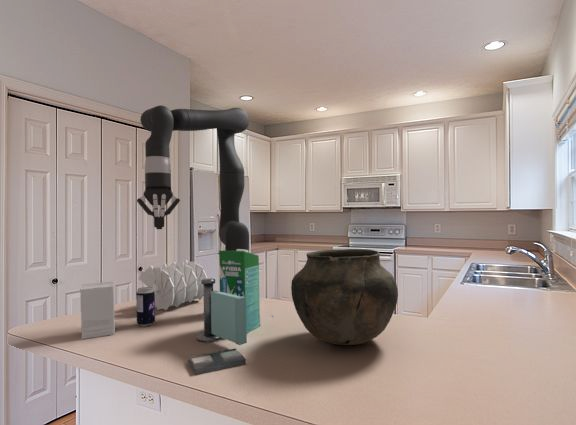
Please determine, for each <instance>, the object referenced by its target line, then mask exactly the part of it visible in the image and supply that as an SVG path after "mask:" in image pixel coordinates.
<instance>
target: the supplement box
mask: <svg viewBox="0 0 576 425" xmlns="http://www.w3.org/2000/svg"><path fill="white" fill-rule="evenodd" d="M114 288H115V287H114V283H113V281H108V282H97V283H96V282H95V283H84V284H82V285H81V288H80V290H79V291H80V320H81V321H80V322H81V324H80V326H81V328H80V329H81V340H86V339H93V338H99V337H105V336H111V335H115V331H116V330H115V329H116V328H115V322H116V321H115V291H114V290H115V289H114Z"/></svg>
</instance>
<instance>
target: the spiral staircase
mask: <svg viewBox="0 0 576 425" xmlns="http://www.w3.org/2000/svg"><path fill="white" fill-rule="evenodd" d="M202 279H209V278H208V276H207V274H206V271H205V270H204V267H203V266H202V265H200V264H198V263H197V261H194V260H193V261H188V260H187V259H185V260H184V261H183V262H177V263H176V261H173V262H171V264H170V265H167V263H163V264H162V265H161V266H159V267H157V266H155V267H154V266H153V265H149V267H147V268H146V269H145V270H144V269H141V272H140V274H139V277H138V280H139V281H140V282H141V283H143V285H145V287H153V289H154V291H155V308H156V311H158V310H164V311H168V309H169V308H170V307H173V306H174V308H178V307H179V306H180V305H181V304H185V303H187V302H189V303H192V302H193V300H194V301H195V300H197V299H198V301H201V300H202V298H204V294H203V284H201V280H202Z"/></svg>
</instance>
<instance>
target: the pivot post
mask: <svg viewBox="0 0 576 425" xmlns="http://www.w3.org/2000/svg"><path fill="white" fill-rule="evenodd" d="M215 283H216V279H215V278H212V277H211V278H208V279H202V280H201V284H203V294H204V296H203V332H200V333H199V334H197V336H196V341H197V342H199V343H200V342H202V343H213V342H217V341H219V340H221V339H222V338H221V337H219V336H216V335H214V334H211V291H214V284H215Z"/></svg>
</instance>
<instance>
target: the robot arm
mask: <svg viewBox="0 0 576 425" xmlns="http://www.w3.org/2000/svg"><path fill="white" fill-rule="evenodd" d="M249 118H250V117H249V115H248V113H247V112H246V111H245V110H244V109H243V108H242V107H241V108H240V107H231V108H228V109H215V110H211V109H209V110H208V109H194V108H193V109H191V108H175V109H172V110H171V109H169V107H167V106H165V105H156V106H154V107H151V108H149V109H146V110H144V111H143V112H142V113H141V115H140V120H139V121H140V124H141V127H142V128H144V129H145V130H147V131H148V132H150V133H151V134H150V136H149V137H148V138H147V139H146V141H145V144H144V145H145V149H144V150H145V154H144V155H145V160H144V161H145V162H144V192H143V195H142V196H141V197H139V198H137V199H136V202H137V204H138V205H139V206H140V207H141V209H143V210H144V211H145V213H146V214H147V215H148V216H152V217H153V227H154V228H155V229H156V230H162V229H163V228H164V227H165V217H166V216H168V215H170V214H172V212H173V210H174V209H175V208H176V206H177V205H178V204H179V203H180V201H181V200H180V198H178V197H176V196H175V195H174V193H173V191H172V168H171V167H172V166H171V160H170V159H171V157H170V153H171V152H170V151H171V150H170V145H171V144H170V143H171V141H172V140H171V139H172V136H173V132H175V131H180V132H197V131H205V130H212V129H213V130H214V129H216V134H217V143H218V144H217V145H218V155H219V156H218V157H219V158H218V159H219V171H218V172H219V176H218V177H219V200H220V201H219V202H220V213H219V214H220V215H219V225H218V236H219V239H220V240H219V241H220V242H221V243H222V244H223V245H225V248H224V249H225V250H224V251H236V249H244V250H248V253H250V232H249V228H248V227H247V225H246V224H245V223H243V222H240V205H241V201H242V198H243V194H244V190H245V167H244V165H243V163H242V161H241V159H240V157H239V155H238V153H237V149H236V146H235V135H236V134H240V133H242V132H245V131H246V130H247V129H248V127H249V125H250V119H249ZM170 200H171V201H170ZM147 202H148V203H149V204H150V205H151V206H152V207H151V208H152V210H151V209H150V207H149V206H148V205H147V204H146V203H147ZM169 202H170V203H171V204H170V205H169V206H168V208H167V209H166V205H167V204H168V203H169Z"/></svg>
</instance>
